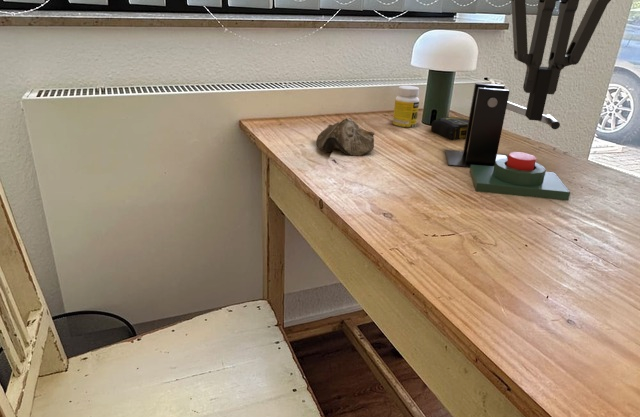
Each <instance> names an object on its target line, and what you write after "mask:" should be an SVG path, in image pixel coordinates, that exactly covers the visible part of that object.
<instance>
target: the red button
mask: <svg viewBox="0 0 640 417" xmlns="http://www.w3.org/2000/svg"><path fill="white" fill-rule="evenodd" d="M507 158H508V160H507V164H506V166H508V167H510V168H514V169H518V170H526V171H529V170H534V166H535V163H537V162H536V161H537V157H536V156H535V155H533V154H530V153H527V152H520V151H513V152H509V153H508V155H507Z"/></svg>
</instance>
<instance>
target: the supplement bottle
mask: <svg viewBox="0 0 640 417" xmlns="http://www.w3.org/2000/svg"><path fill="white" fill-rule="evenodd" d="M397 94H398V95H397V96H395V99H394V108H393V117H392V125H393V126H395V127H398V128H406V129H411V128H415V127H417V122H418V114H419V109H420V108H419V107H420V98H419V97H418V96H419V94H420V88H419V87H418V86H414V85H400V86H398V90H397Z"/></svg>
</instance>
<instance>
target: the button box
mask: <svg viewBox="0 0 640 417" xmlns="http://www.w3.org/2000/svg"><path fill="white" fill-rule="evenodd" d="M507 160H508V157H507V158H502V159H499V160H497V161H495V165H494V167H492V166H481V165H471V166H470V168H469V175H470V178H471V181H472V185H473V187H474V191H475V192H478V193H488V194H489V193H490V194H499V195H507V196H516V197H517V196H518V197H528V198H537V199H546V200H547V199H548V200H557V201H569V199H570V196H571V191H570V189H568V187H567V186H566V185H565V183H564V182H563V180H562V179H561V178H560V177H559V176H558V175H557V174H556V173H555V172H553V171H547V169H546V168H545V167H544V165H542V164H541V163H538V162H535V166H534V170H529V171H526V170H518V169H514V168H510V167H508V166H506V164H507Z"/></svg>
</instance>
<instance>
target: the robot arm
mask: <svg viewBox="0 0 640 417" xmlns="http://www.w3.org/2000/svg"><path fill="white" fill-rule="evenodd" d="M510 1H511V21H512V40H513V42H512V43H513V57H514V59H515V60H516V61H519V62H520V63H523V64H524V65H526V70H525V76H524V79H523V80H524V81H523V85H522V87H523V92H525V93H526V94H529V95H528V99H527V105H526V108H527V109H526V114H525V117H526V118H527V119H528V120H529V121H536V122H537V121H538V122H540V121H541V120H542V115H544V111H545V105H546V101H547V97H548V95H554V94H555V93H556V91H557V89H558V84H559V80H560V75H561V71H562V70H564V68H567V67H568V66H575V65H578V64H579V62H580V61H581V59H582V57H583V55H584V53H585V51H586V49H587V47H588V45H589V43H590V41H591V39H592V37H593V34H594V32H595V31H596V28H597V26H598V25H599V23H600V21H601V19H602V16H603V14H604V12H605V11H606V8H607V7H608V4H609V3H610V2H611V1H612V0H591V1H590V2H589V4H588V6H587V8H586V11H585V13H584V14H583V16H582V18H581V20H580V23H579V25H578V27H577V29H576V30H575V33H574V35H573V37H572V39H571V42H570V44H569V41H570V37H571V32H572V28H573V24H574V20H575V15H576V12H577V10H578V7H579V3H580V0H538V2H537V12H536V17H535V22H534V25H533V26H534V28H533V32H532V36H531V42H530V46H528V25H527V2H526V0H510ZM557 2H559V4H558V14H557V20H556V24H555V29H554V33H553V38H552V43H551V48H550V52H549V56H548V61H547V64H548V66H542V63H543V59H544V55H545V54H544V53H545V49H546V45H547V41H548V36H549V31H550V26H551V21H552V18H553V17H552V16H553V13H554V10H555V7H556V4H557Z"/></svg>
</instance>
